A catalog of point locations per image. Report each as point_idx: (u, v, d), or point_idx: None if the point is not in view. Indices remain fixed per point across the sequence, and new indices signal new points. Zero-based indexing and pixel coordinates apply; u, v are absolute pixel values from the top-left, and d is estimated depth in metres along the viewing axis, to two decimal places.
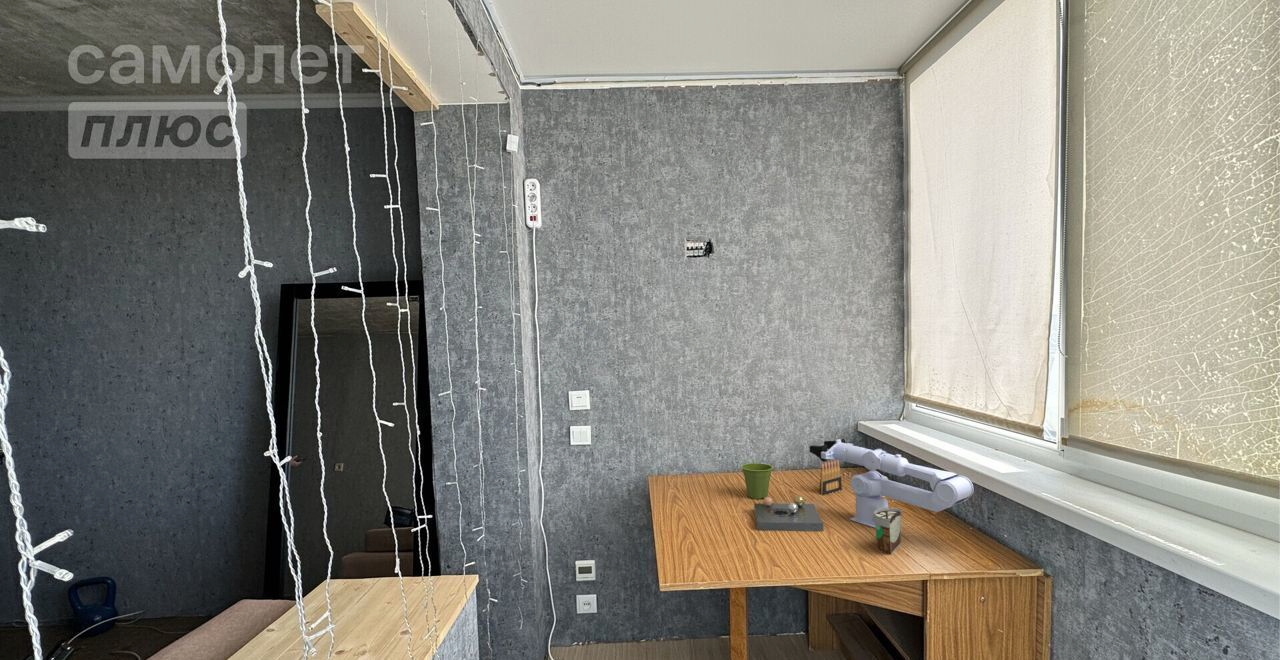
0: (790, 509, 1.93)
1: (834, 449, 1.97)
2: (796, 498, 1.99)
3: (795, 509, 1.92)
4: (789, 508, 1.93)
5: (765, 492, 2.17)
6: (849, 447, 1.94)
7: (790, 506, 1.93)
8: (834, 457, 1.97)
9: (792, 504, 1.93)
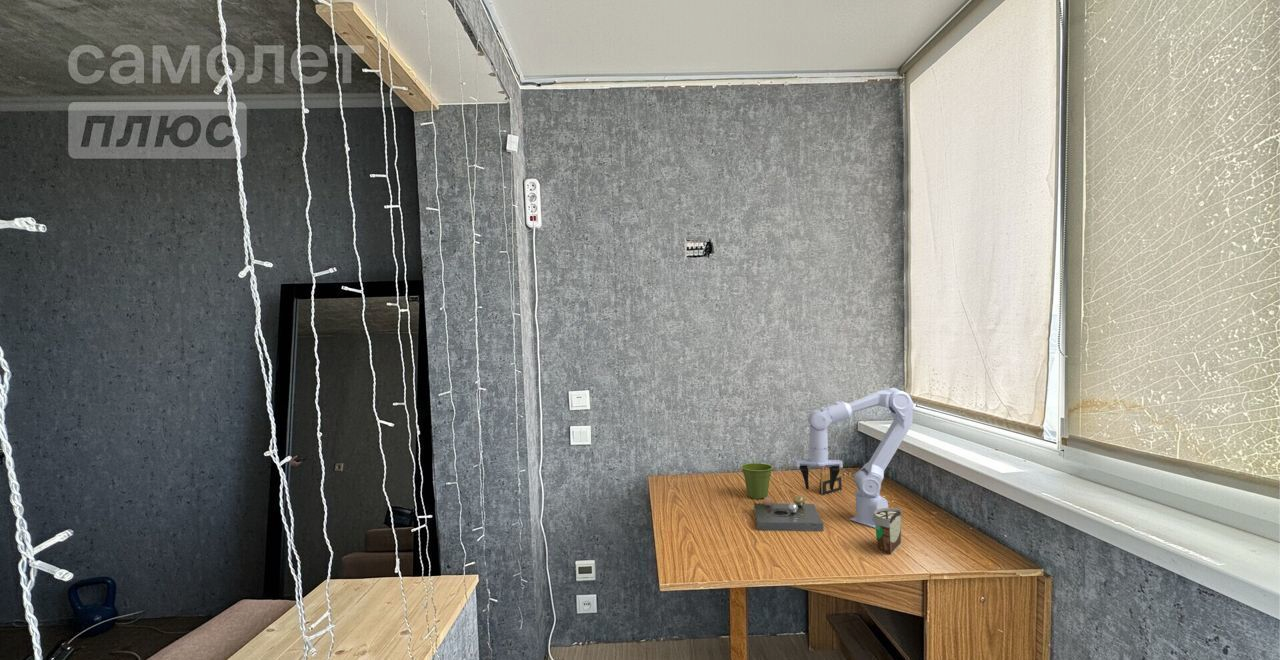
0: (790, 509, 1.93)
1: (828, 461, 1.91)
2: (796, 498, 1.99)
3: (795, 509, 1.92)
4: (789, 508, 1.93)
5: (765, 492, 2.17)
6: (811, 446, 1.91)
7: (790, 506, 1.93)
8: None
9: (792, 504, 1.93)
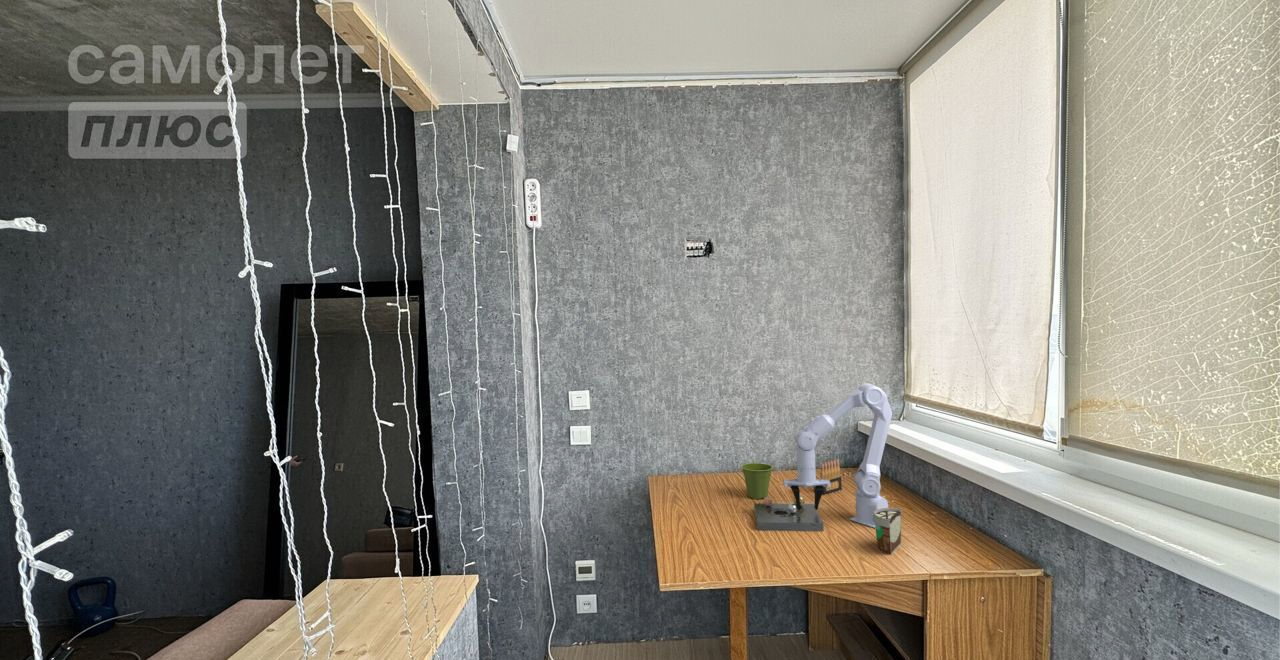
0: (790, 509, 1.93)
1: (815, 481, 1.91)
2: None
3: (795, 509, 1.92)
4: (789, 508, 1.93)
5: (765, 492, 2.17)
6: (799, 467, 1.92)
7: (790, 506, 1.93)
8: None
9: (792, 504, 1.93)
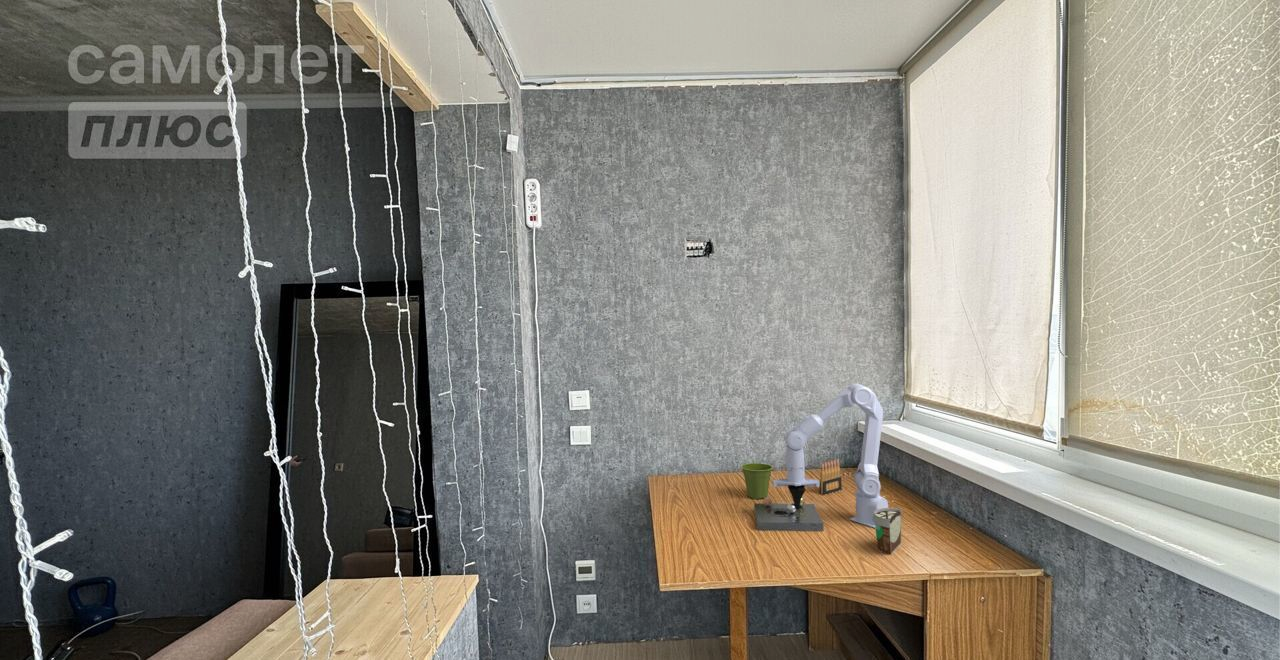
0: (789, 510, 1.93)
1: (804, 481, 1.92)
2: None
3: (794, 509, 1.92)
4: (788, 509, 1.93)
5: (765, 492, 2.17)
6: (788, 466, 1.92)
7: (788, 507, 1.93)
8: None
9: (790, 504, 1.93)
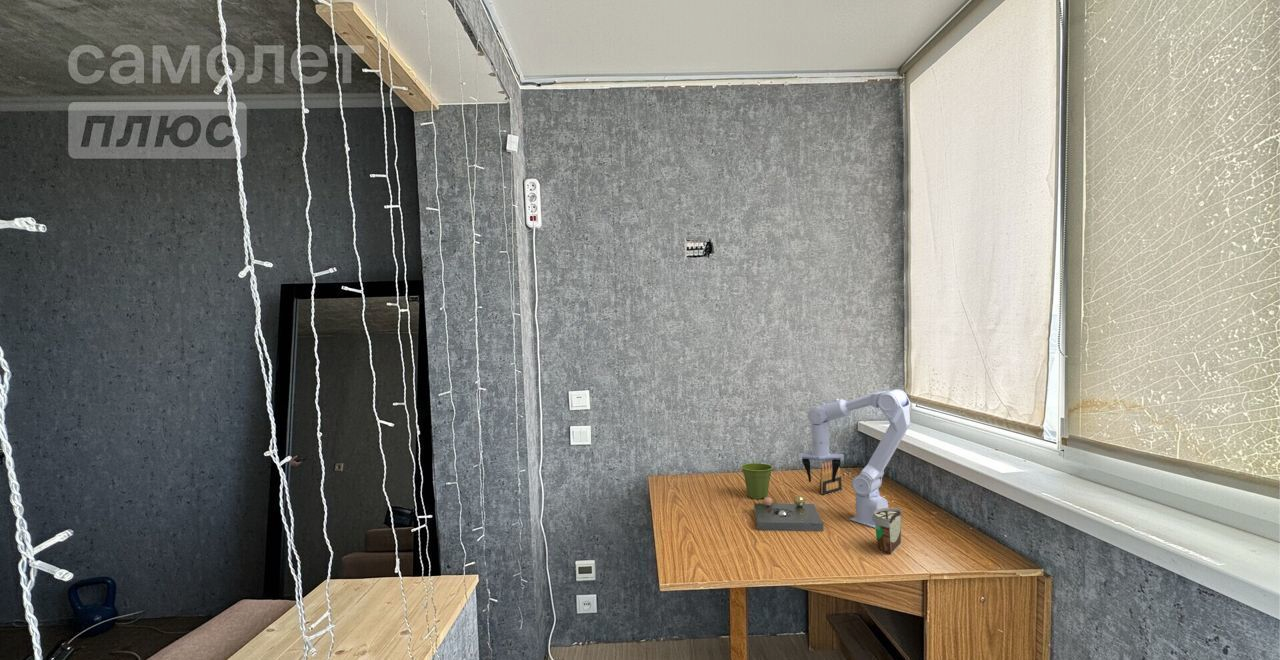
0: None
1: (829, 455, 1.99)
2: (796, 498, 1.99)
3: None
4: None
5: (765, 492, 2.17)
6: None
7: None
8: None
9: None
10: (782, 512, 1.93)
